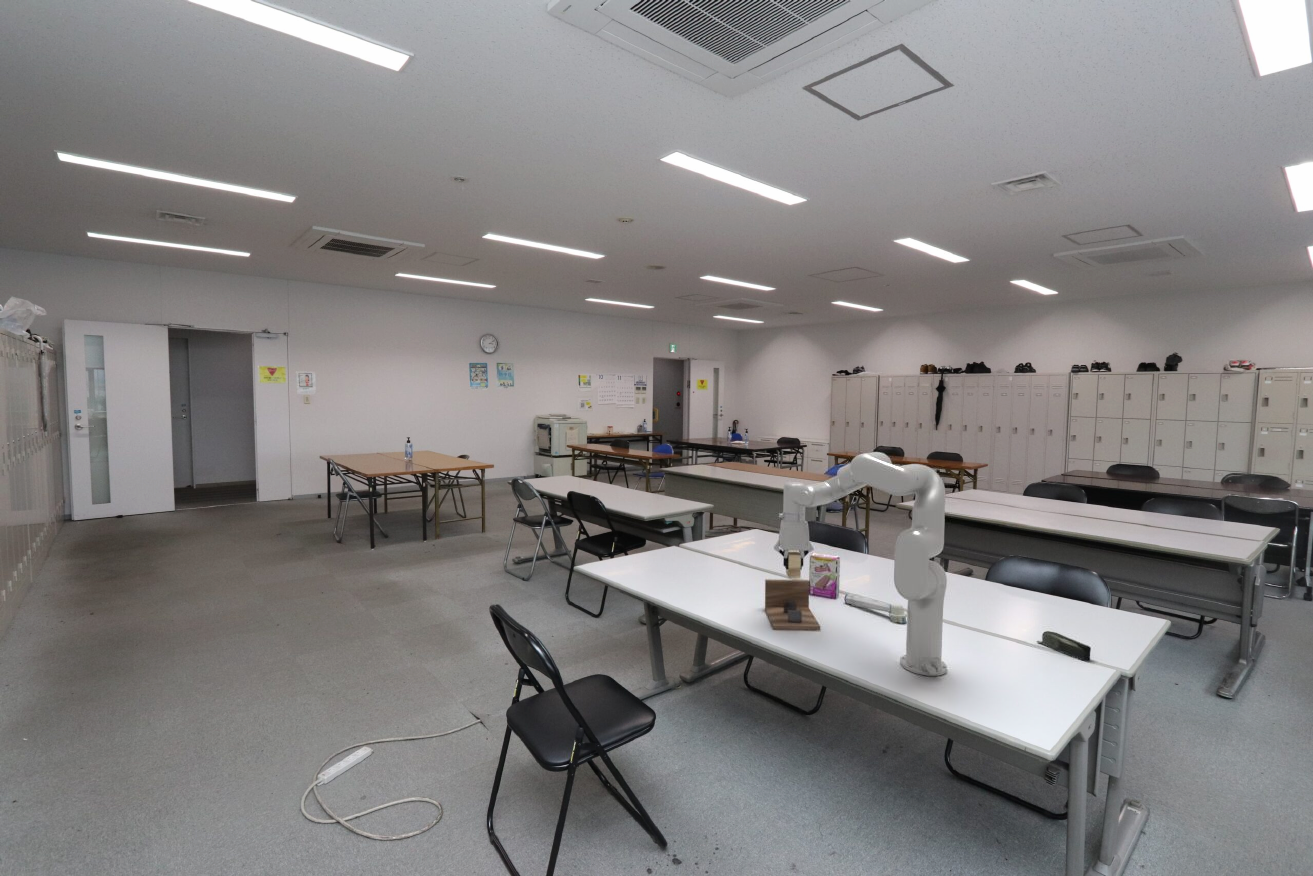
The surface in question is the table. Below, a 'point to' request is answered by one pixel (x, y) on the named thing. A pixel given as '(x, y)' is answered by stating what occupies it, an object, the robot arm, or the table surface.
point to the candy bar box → (824, 575)
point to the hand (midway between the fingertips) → (793, 567)
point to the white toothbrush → (878, 607)
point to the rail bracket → (794, 565)
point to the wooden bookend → (789, 605)
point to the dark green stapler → (1066, 645)
